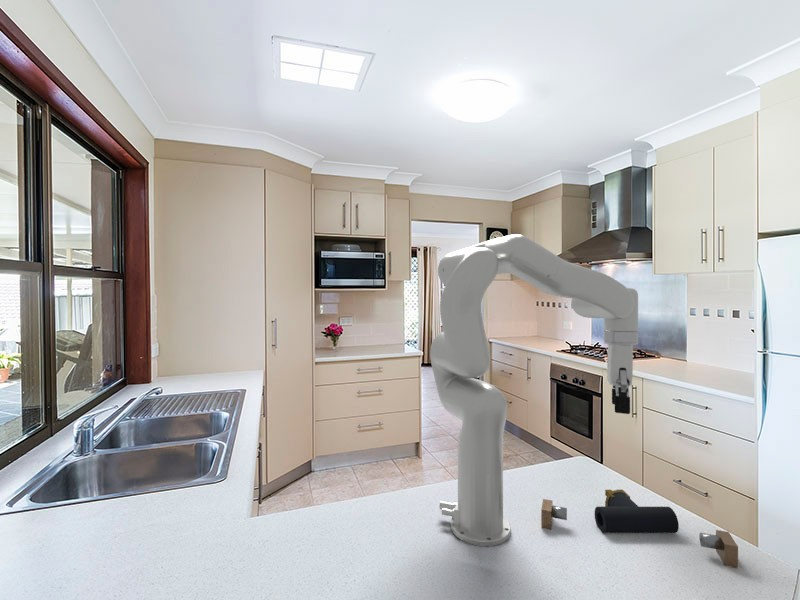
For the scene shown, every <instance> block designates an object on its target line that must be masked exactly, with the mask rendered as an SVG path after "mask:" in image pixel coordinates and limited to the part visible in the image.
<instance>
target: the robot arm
mask: <svg viewBox="0 0 800 600" xmlns="http://www.w3.org/2000/svg"><path fill="white" fill-rule="evenodd" d="M502 274H503V275H504V274H510V275H513V276H515V277H516V278H518V279H520V280H522V281H524V283H527V284H529V285H531V286H533V287H534V288H535V289H538V290H539V291H541V292H543V293H545V294H548V295H551V296H555V297H560V298H568V299H571V301H570V303H571V304H570V305H571V308H572V310H573V311H574V313H575V314H577V315H578V316H581V317H583V318H589V319H603V344H606V345H607V363H606V364H607V367H606V368H607V370H606V378H607V382H608V384H609V385H611V386H612V388H611V404H612V405H614V412H615V414H623V415H625V414H626V415H629V414H631V396H630V387H631V386H632V384H633V369H634V364H633V363H634V360H633V359H634V349H633V348H634V346H637V345H639V294H638V291H637V290H636V289H635V288H630V287H627V286H626V285H624V284H622V283H621V282H620V281H618V280H616V279H615V278H613V277H611V276H609V275H607V274H605V273H603V272H600V271H597V270H595V269H592V268H588V267H586V266H582V265H580V264H576V263H573V262H569V261H567V260H565V259H563V258H561V257H560V256H558V255H556V254H554V253H553V252H552V251H550V250H548V248H545V247H544V246H542V245H540V244H539V243H537V242H536V241H534V240H533V239H531V238H529V237H527V236H526V235H523V234H517V233H516V234H509V235H505V236H500V237H496V238H493V239H489V240H486V241H483V242H480V243H478V244H475V245H472V246H469V247H465V248H462V249H459V250H456V251H451V252H449V253H447V254H446V255H444V256H443V257H442V258H441V260H440V261H439V263H438V267H437V275H438V278H439V280H440V281H441V283H442V284H443V285H444V287H443V288H444V289H443V290H442V294H441V296H440V297H441V298H440V301H439V302H440V303H439V315H440V320H441V321H440V322H441V327H442V331H441V332H439V333H438V334H436V336H435V337H434V339H433V340H432V342H431V345H430V348H429V349H430V350H429V357H430V358H429V359H430V364H431V368H432V369H431V370H432V372H433V373H432V374H433V377H434V380H435V386H436V390H437V394H438V397H439V401H440V403H441V405H442V407H443V408H444V409H445V410H446V411H447V412H448V413H449V414H451V415H453V416H454V417H456V418H458V419H460V420H461V422H462V426H461V429H460V433H459V435H458V439H457V454H456V455H457V501H454V502H451V501H448V500H442V499H440V501H439V506H438V507H439V510H441V515H443V516H446V517H447V516H449V517H451V520H450V529H451V532H452V533H453V535H455V537H456V538H458V539H460V540H461V541H463V542H464V543H467V544H470V545H475V546H479V547H480V546H481V547H491V546H498V545H500V544H503V543H505V542H506V541H508V539H509V538H510V537H511V534H512V533H511V531H512V529H511V524H510V521H508V520H507V519H506V518H505V517H504V457H503V456H504V433H505V427H506V421H507V418H508V417H507V416H508V403H507V399H506V396H505V395H504V393H503V392H502V391H501V390H500V389H499V388H497V386H495V385H494V384H491V383H489V382H486V381H484V380H481V379H478V378H481V377H483V376H485V374H486V373H488V371H489V370H490V369H489V368H490V365H491V352H490V349H489V348H490V347H489V343H488V339H487V335H486V334H487V333H486V331H485V325H484V321H483V314H482V302H483V298H484V295H485V293H486V292H487V290H488V288H489V287H490V286H491V284H492V283H493V281H494V280H495V279H496V276H497V275H502Z"/></svg>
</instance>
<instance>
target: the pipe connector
mask: <svg viewBox="0 0 800 600" xmlns="http://www.w3.org/2000/svg"><path fill="white" fill-rule="evenodd" d="M604 496H605V502H604V506H596V507H595V509H594V520H595V524H596V527H597V528H598V530H599V531H600V532H601V533H602V534H677V533H678V531H679V529H680V528H679V527H680V524H679V520H678V516H677V514H676V513H675V511H674V509H673V508H672V507H670V506H639V505H638V504H636V502H634V501H633V500H632V498H631V496H630V495H629V493H627V492H626V491H625V490H624V489H615V490H612V489H605V490H604Z"/></svg>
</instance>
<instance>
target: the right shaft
mask: <svg viewBox="0 0 800 600" xmlns="http://www.w3.org/2000/svg"><path fill="white" fill-rule="evenodd" d="M698 534H699V536H698V537H699V544H700V547H703V548H708V549H714V550H715V551H716V553H717V554H718V557H719V558H720V560H721V562H722V564H723V565H724V566H725V567H729V568H733V569H739V546H738V544H737V543H736V541H735V540H734V538H733V537H732V535H731V533H730V532H729V531H726V530H718V529H715V534H711V533H705V532H699V533H698Z"/></svg>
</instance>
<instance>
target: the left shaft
mask: <svg viewBox="0 0 800 600" xmlns="http://www.w3.org/2000/svg"><path fill="white" fill-rule="evenodd" d="M553 502H554V501H553V500H551V499H545V498H543V499H542V504H541V509H540V510H541V513H540V514H541V519H540V520H541V521H540V522H541V524H540V525H541V529H544V530H549V531H551V530H552V529H553V528H552V527H553V519H558V520H562V521H567V519H568V508H567V507H564V506H557V505H553Z"/></svg>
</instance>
